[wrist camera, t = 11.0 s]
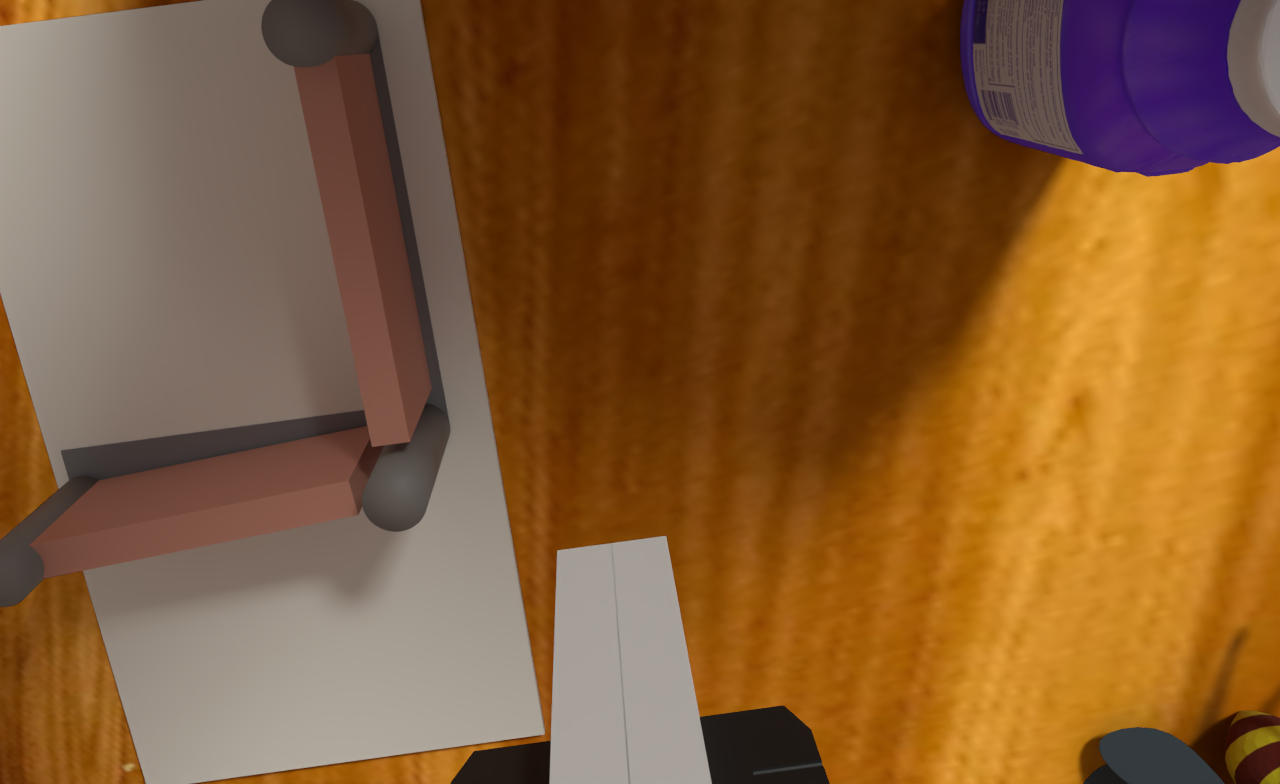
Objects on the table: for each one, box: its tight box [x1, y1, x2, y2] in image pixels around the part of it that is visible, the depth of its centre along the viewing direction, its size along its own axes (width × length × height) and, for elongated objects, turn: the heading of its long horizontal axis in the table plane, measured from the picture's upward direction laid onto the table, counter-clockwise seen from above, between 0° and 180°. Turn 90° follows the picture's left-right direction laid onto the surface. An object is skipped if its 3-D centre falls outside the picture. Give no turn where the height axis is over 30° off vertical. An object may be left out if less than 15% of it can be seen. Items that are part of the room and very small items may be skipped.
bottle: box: [960, 0, 1280, 176], centre depth 31 cm, size 7×6×17 cm
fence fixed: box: [261, 0, 450, 532], centre depth 37 cm, size 16×2×7 cm, turn 7°
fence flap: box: [0, 426, 384, 607], centre depth 39 cm, size 12×2×7 cm, turn 101°
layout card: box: [0, 0, 545, 784], centre depth 42 cm, size 29×16×1 cm, turn 7°
